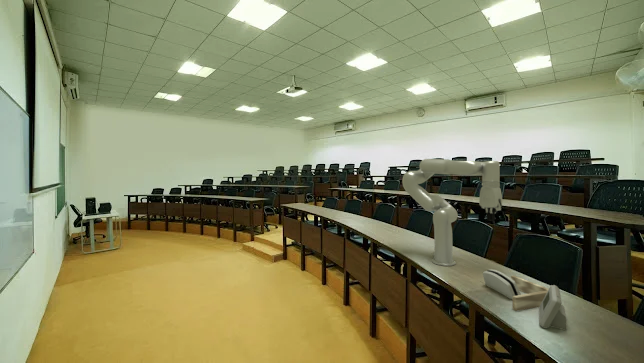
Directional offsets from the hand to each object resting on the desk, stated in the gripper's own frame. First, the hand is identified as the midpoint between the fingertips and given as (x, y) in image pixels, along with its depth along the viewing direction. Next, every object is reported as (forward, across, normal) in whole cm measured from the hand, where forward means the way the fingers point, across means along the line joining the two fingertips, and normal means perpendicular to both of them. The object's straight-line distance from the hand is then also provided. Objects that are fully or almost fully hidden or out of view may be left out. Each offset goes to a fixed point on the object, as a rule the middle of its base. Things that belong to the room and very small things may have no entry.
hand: (490, 220), depth 140 cm
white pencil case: (+28, +19, -15) cm, 37 cm away
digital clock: (+27, +42, -19) cm, 53 cm away
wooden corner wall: (+27, +26, -14) cm, 40 cm away
